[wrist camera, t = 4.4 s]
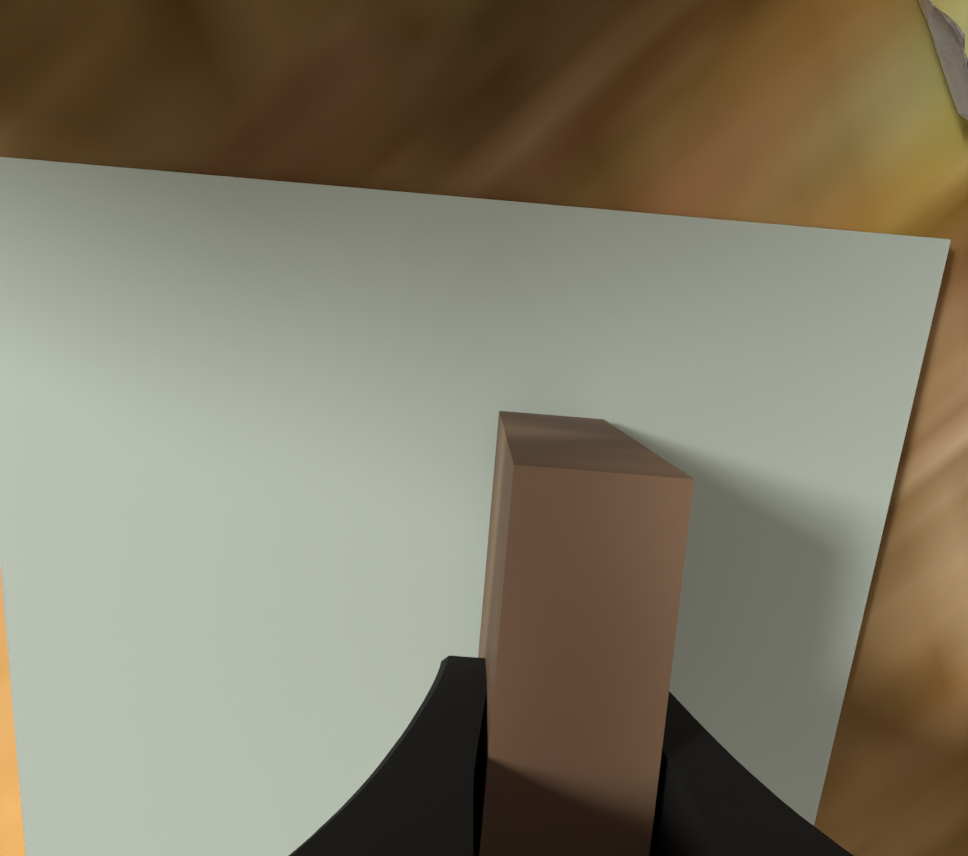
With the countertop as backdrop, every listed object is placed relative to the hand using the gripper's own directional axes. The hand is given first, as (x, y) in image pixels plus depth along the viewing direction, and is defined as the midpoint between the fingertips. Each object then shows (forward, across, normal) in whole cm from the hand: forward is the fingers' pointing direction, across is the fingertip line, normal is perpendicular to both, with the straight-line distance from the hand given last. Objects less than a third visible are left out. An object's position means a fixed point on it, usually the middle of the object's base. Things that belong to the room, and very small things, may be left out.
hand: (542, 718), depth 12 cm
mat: (+4, +2, +1) cm, 5 cm away
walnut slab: (+3, 0, 0) cm, 3 cm away
